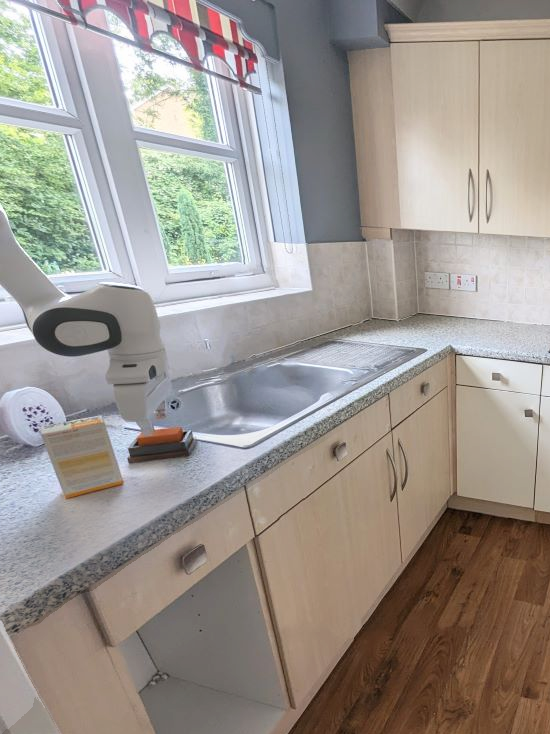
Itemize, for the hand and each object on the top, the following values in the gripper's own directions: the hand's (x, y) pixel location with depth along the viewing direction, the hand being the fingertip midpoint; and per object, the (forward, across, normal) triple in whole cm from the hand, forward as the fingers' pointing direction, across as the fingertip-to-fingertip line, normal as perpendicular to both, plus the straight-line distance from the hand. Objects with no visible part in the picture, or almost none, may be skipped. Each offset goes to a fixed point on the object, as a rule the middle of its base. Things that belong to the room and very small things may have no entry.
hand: (155, 425), depth 97 cm
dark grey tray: (+6, 0, 0) cm, 6 cm away
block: (+5, 0, 0) cm, 5 cm away
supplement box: (+7, +13, -8) cm, 16 cm away
